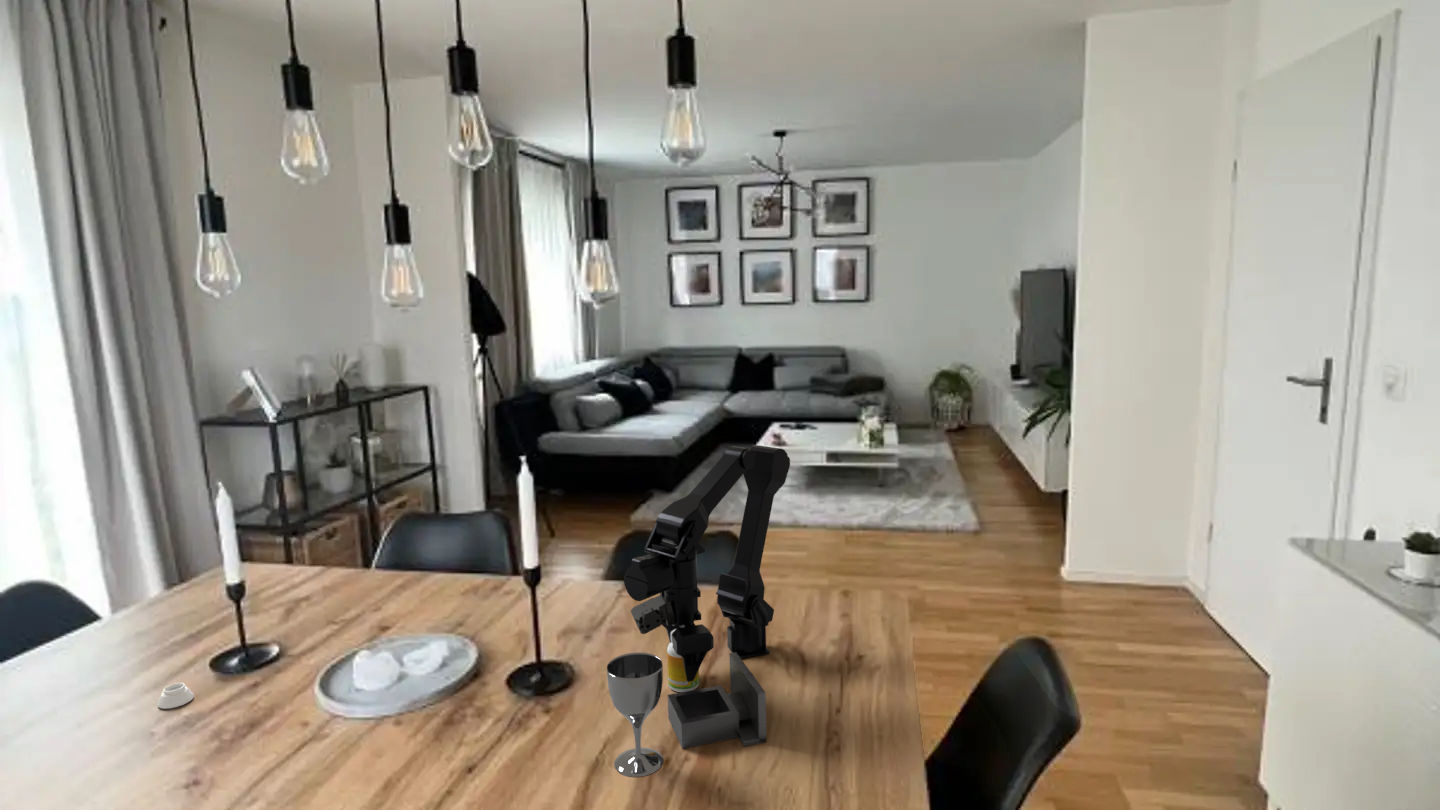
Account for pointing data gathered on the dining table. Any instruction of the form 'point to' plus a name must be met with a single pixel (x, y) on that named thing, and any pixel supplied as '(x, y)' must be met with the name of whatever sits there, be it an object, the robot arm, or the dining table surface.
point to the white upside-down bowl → (175, 696)
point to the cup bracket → (721, 711)
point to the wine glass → (636, 706)
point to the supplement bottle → (678, 672)
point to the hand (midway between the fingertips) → (683, 668)
